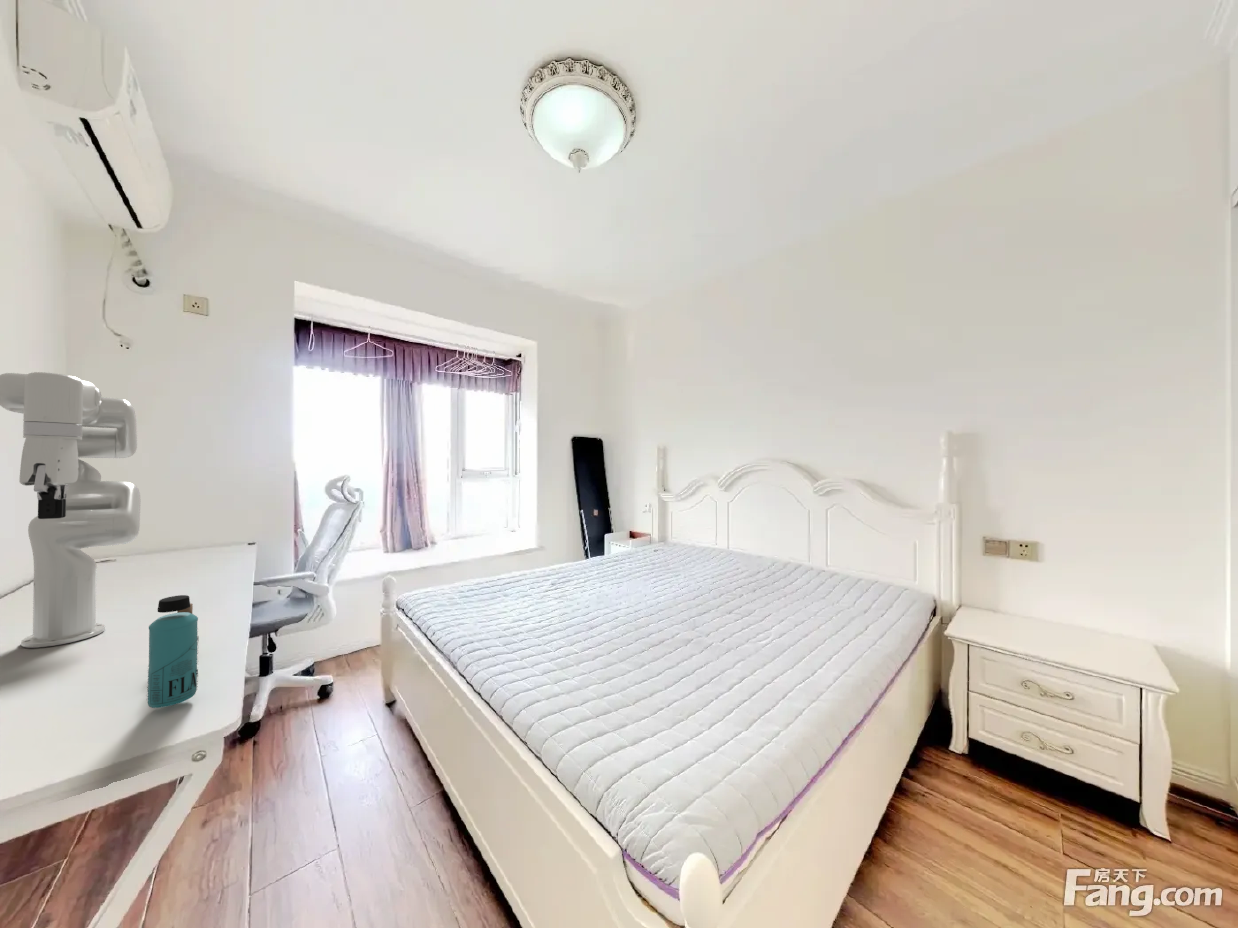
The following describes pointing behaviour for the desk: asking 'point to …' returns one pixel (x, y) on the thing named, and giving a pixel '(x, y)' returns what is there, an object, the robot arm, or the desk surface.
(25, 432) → the robot arm
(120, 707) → the desk surface
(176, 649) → the beverage bottle
